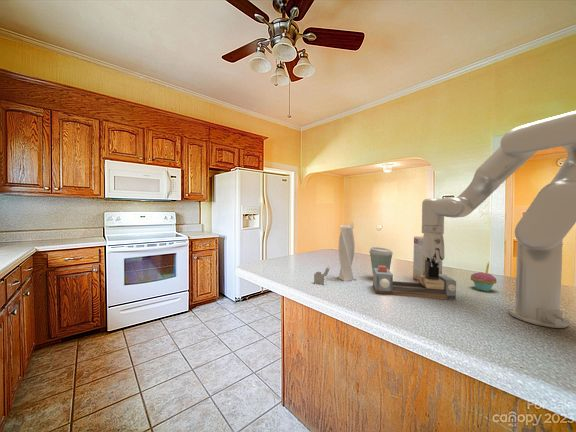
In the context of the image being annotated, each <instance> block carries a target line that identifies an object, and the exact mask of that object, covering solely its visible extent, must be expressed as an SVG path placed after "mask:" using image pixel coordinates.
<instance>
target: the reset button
mask: <svg viewBox="0 0 576 432" xmlns="http://www.w3.org/2000/svg"><path fill="white" fill-rule="evenodd" d="M378 272H387V267H386V266H380V265H378Z"/></svg>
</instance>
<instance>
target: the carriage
mask: <svg viewBox="0 0 576 432" xmlns="http://www.w3.org/2000/svg"><path fill="white" fill-rule="evenodd" d="M429 267H430V260H425V276H423V275H420V282H419V283H421V284H422V285H423V286H425V287H426V288H427V289H441V290H444V281H442V280H441V279H439V272H438V278H436V277H429Z"/></svg>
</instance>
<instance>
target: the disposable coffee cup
mask: <svg viewBox="0 0 576 432" xmlns="http://www.w3.org/2000/svg"><path fill="white" fill-rule="evenodd" d="M368 251H369V255H370V262H371V269H372V272H373V268H378V265H380V266H386V267H387V269H388V270H389V271H390V270H391V264H392V258H393V251H392V250H391V249H389V248H386V247H385V248H384V247H379V246H378V247H377V246H371V247H370V249H369V250H368ZM390 272H391V271H390Z"/></svg>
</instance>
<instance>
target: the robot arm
mask: <svg viewBox="0 0 576 432" xmlns="http://www.w3.org/2000/svg"><path fill="white" fill-rule="evenodd" d="M499 143H500V144H499V145H500V146H499V147H498V148H497V149H496V150H495V151H494V152H493V153H492V154H491V155H490V156H489V157H488V158H487V159H486V160H485V161H483V163H482V164H481V165H480V166H479V167H477V169H476V170H475V172H474V175H473V178H472V180H471V182H470V184H468V186H467V187H466V188H465V189H464V190H463V191H462V192H461V193H460V194H459V195H458V196H454V197H447V198H446V197H444V198H426V199H423V200H422V203H421V234H423V235H422V237H423V255H424V256H425V259H426V260H430V267H429V277H436V278H438V272H439V263H440V259H441V260H442V261H444V260H445V256H446V255H445V240H444V234H445V218H452V219H455V218H456V219H457V218H464V217H467V216H469V215H470V214H471V213H473V212H474V211H475V210H476V209H477V208H478V207H479V206H481V204H483V203H484V202H485V201H486V200H487V199H488V198H489V197H490V196H491V195H492V194H493V193H494V192H495V191H497V189H499V187H500V186H501V185H502V184H503V183H504V182H505V181H506V180H508V178H510V177H511V176H512V175H513V174H514V173H516V171H518V169H519V168H521V167H522V166H523V165H524V164H525V163H526V162H528V161H529V160H530V159H531V158H532V157H533V156H534V155H535V154H536V153H537V152H538V151H539V152H541V151H544V150H549V149H555V148H558V147H561V148H563V149H564V150H566V152H567V157H566V159H565V160H564V162H563V163H562V165H561V166H560V168H559V170H558V171H557V173H556V174H555V175H554V177H553V178H552V180H551V182H550V183H547V184H546V185H545V186H543V187H542V188H541V189H540V191H538V193H537V195H536V196H535V198H534V199H533V200H532V202H531V204H530V205H529V207H528V208H527V209H526V211H525V212H524V213H523V214H522V217H521V218H520V220H519V221H518V222H517V224H516V226H515V228H514V236H515V239H516V241H517V243H516V244H517V245H516V246H517V247H516V270H515V305H514V306H511V307H509V308H508V314H510V316H512V317H514V318H516V319H517V320H521V321H522V322H526V323H529V324H532V325H537V326H542V327H546V328H552V329H553V328H554V329H563V328H564V329H565V328H567V327H568V326H569V323H570V320H569V319H567V318H565V317H563V313H564V312H563V310H561V306H562V305H561V304H562V303H561V302H562V301H561V299H562V297H561V296H562V291H561V290H562V270H563V242H564V238H566V236H567V235H568V233H569V232H570V231H571V230H572V228H573V227H574V225H576V110H574V111H573V110H572V111H569V112H566V113H562V114H558V115H555V116H554V115H553V116H552V117H547V118H544V119H540V120H536V121H533V122H532V121H531V122H529V123H526V124H525V123H524V124H522V125H518V126H516V127H514V128H511V129H510V130H508V131H507V132H505V133H504V135H503V136H502V137H501V139H500V142H499ZM434 258H435V259H434Z"/></svg>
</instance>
